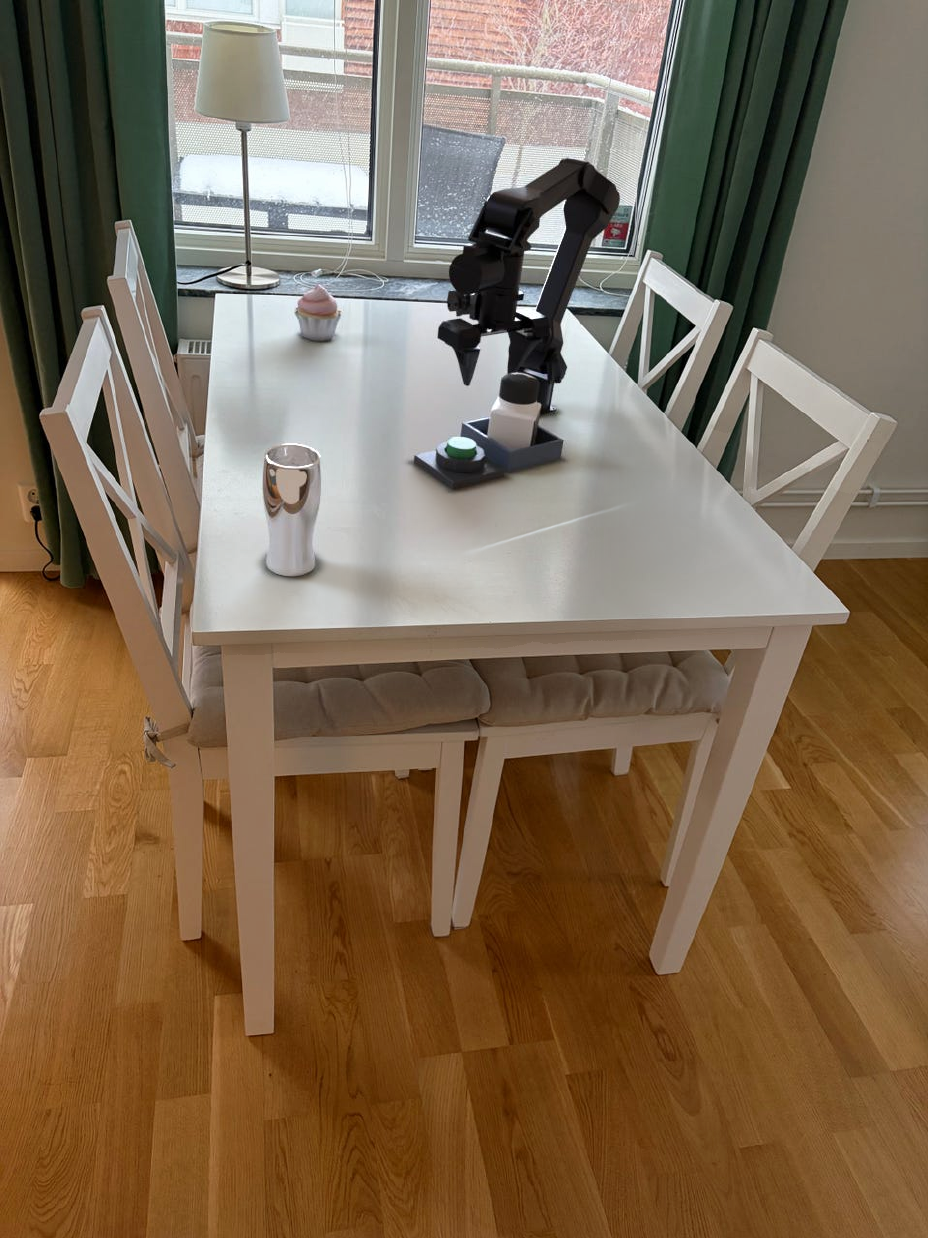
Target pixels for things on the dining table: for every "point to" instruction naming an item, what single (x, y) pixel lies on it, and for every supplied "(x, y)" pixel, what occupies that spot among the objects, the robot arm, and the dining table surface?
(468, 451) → the button
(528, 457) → the blue-grey tray
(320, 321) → the cupcake
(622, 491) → the dining table surface
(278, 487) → the beer glass
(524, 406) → the medicine bottle
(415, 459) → the control panel
